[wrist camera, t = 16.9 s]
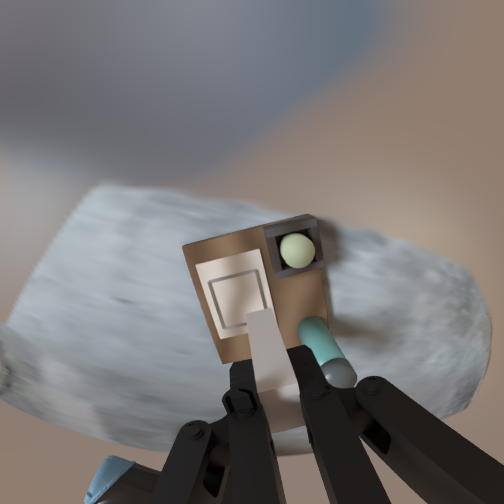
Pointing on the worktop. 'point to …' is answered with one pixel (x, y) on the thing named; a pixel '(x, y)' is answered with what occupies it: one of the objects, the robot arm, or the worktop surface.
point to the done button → (296, 249)
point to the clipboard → (255, 283)
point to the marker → (327, 352)
